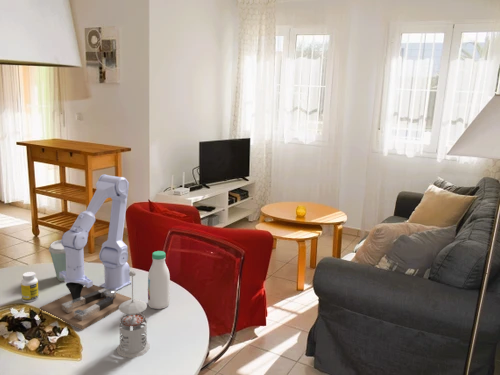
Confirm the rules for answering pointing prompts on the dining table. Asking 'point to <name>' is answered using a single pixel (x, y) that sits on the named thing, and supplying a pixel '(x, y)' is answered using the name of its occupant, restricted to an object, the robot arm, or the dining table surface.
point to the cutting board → (83, 308)
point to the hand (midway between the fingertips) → (76, 300)
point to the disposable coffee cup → (58, 257)
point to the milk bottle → (158, 282)
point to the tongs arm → (88, 299)
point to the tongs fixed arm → (93, 309)
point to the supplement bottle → (29, 287)
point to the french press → (133, 340)
